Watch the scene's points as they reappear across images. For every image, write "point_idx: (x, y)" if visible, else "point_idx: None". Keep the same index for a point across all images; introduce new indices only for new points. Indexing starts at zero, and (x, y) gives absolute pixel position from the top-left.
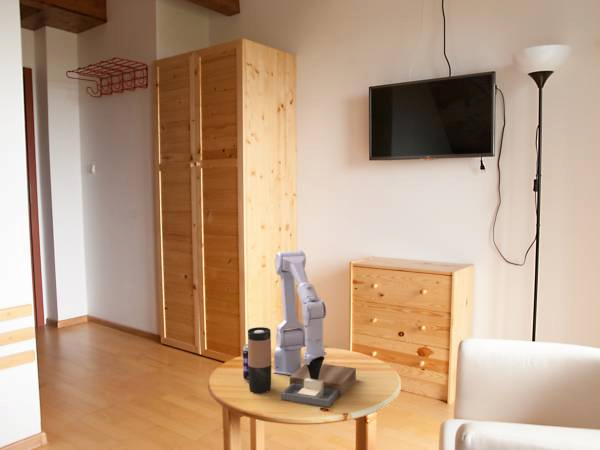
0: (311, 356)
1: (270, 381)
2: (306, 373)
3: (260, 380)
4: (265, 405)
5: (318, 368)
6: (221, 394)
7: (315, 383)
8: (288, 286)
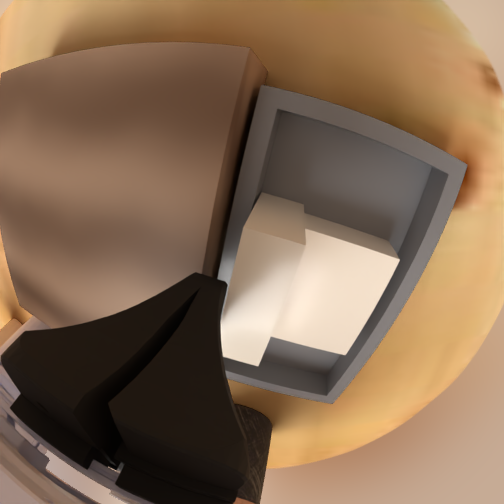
0: None
1: None
2: None
3: (264, 462)
4: (374, 407)
5: (199, 354)
6: (284, 464)
7: (288, 288)
8: None
